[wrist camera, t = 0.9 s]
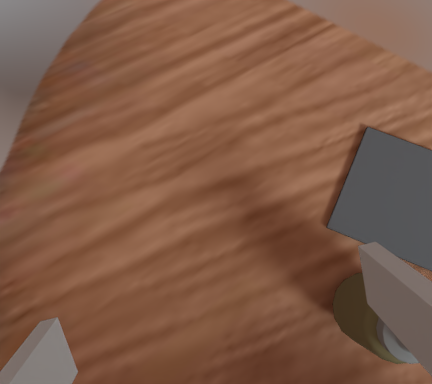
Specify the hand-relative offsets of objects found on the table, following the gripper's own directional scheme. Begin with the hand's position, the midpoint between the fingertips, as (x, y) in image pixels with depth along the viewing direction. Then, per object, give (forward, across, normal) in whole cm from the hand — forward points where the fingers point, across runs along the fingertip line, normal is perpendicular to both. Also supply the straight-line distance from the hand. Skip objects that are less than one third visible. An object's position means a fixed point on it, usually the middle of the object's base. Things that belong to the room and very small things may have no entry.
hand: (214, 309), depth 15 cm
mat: (+29, -23, +8) cm, 38 cm away
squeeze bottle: (+26, -15, +18) cm, 35 cm away
